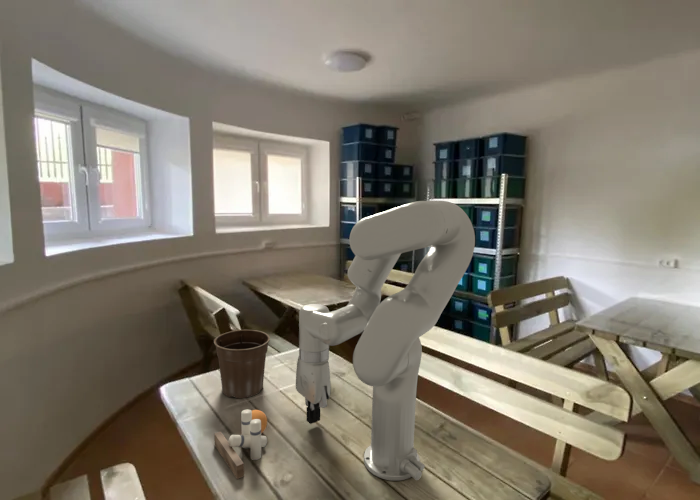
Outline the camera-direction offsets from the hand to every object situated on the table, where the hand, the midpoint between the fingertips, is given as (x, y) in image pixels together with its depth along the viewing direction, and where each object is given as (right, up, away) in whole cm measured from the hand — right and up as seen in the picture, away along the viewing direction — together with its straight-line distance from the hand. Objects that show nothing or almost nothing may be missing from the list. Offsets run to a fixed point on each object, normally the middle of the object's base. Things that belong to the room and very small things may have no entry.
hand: (313, 420), depth 103 cm
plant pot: (-23, +1, +19) cm, 30 cm away
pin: (-15, -2, -8) cm, 17 cm away
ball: (-14, +1, -4) cm, 15 cm away
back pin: (-12, -3, -12) cm, 17 cm away
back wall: (-18, -3, -13) cm, 23 cm away
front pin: (-11, -1, -8) cm, 14 cm away
